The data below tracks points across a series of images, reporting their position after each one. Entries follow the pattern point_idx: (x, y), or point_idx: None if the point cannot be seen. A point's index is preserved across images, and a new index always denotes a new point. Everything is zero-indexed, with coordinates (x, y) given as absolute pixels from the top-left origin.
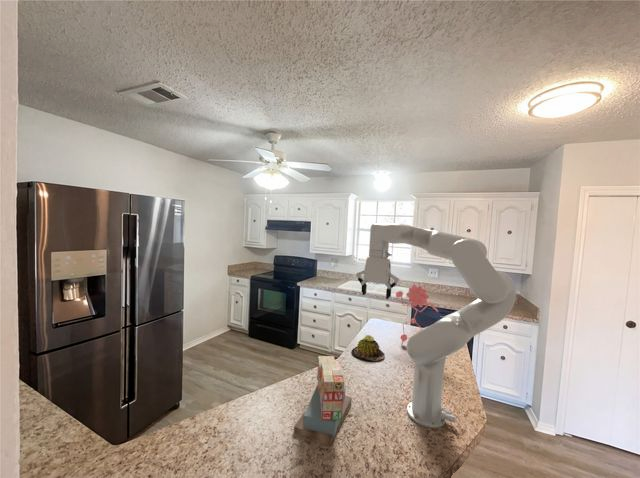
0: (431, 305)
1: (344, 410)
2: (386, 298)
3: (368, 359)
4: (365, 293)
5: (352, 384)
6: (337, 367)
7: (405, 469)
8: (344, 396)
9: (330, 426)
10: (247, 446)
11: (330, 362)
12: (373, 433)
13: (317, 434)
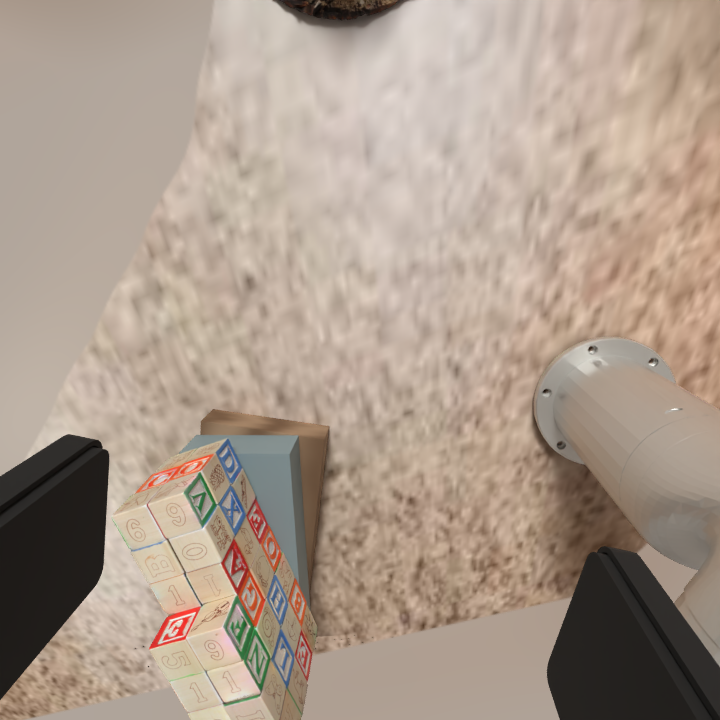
0: None
1: (313, 511)
2: (558, 684)
3: (354, 8)
4: (100, 497)
5: (309, 292)
6: (239, 678)
7: (499, 606)
8: (298, 457)
9: None
10: (117, 639)
11: (195, 651)
12: (415, 522)
13: None
